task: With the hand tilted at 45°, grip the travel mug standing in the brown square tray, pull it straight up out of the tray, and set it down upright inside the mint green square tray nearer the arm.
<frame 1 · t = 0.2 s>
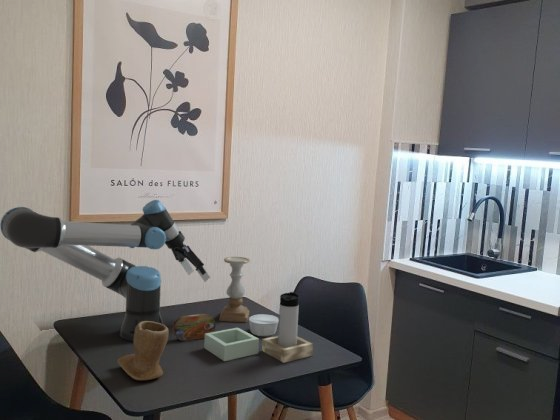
hand: (199, 276, 209), 15 cm above the table, tool tilted 35°, fingers open, 13 cm apart
candle holder: (234, 318, 207), on the table
travel mug: (287, 353, 172), resting in brown square tray
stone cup: (144, 373, 152), on the table
mint green square tray: (231, 350, 172), on the table
brown square tray: (287, 353, 172), on the table
ramekin: (263, 333, 191), on the table
tin: (193, 338, 182), on the table
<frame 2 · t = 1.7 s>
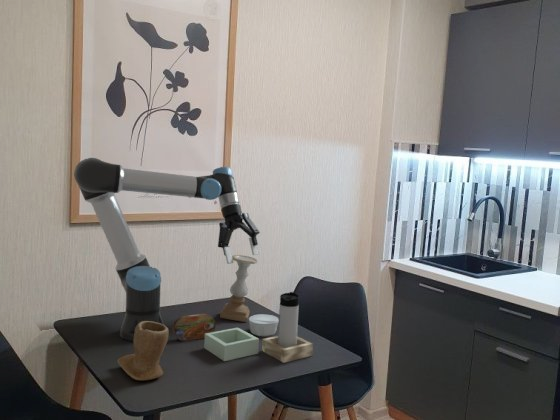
hand: (242, 259, 197), 26 cm above the table, tool tilted 25°, fingers open, 13 cm apart
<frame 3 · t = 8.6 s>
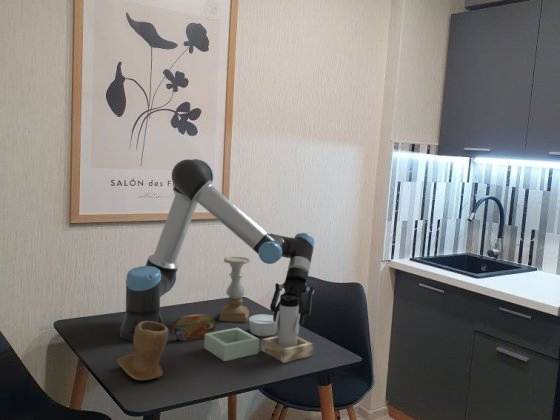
hand: (285, 331, 168), 8 cm above the table, tool tilted 45°, fingers closed on travel mug, 6 cm apart
travel mug: (286, 353, 172), resting in brown square tray, touching gripper
when the fingers open (10 cm above the table, at t = 17.5 s): travel mug drops 1 cm, resting in mint green square tray.
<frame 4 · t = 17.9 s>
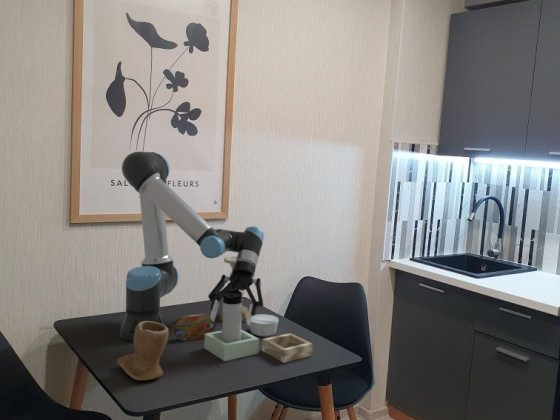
hand: (229, 321, 168), 11 cm above the table, tool tilted 45°, fingers open, 11 cm apart
travel mug: (231, 351, 172), resting in mint green square tray
everything else where it was.
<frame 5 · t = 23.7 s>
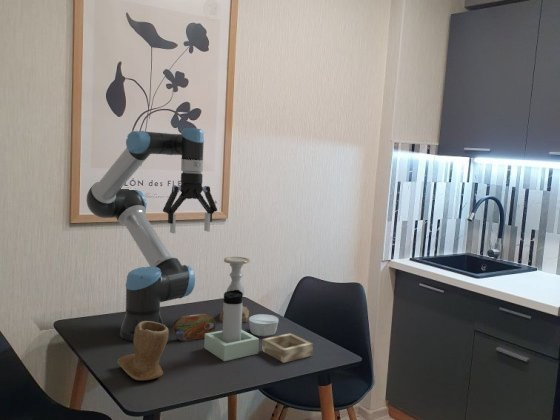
hand: (190, 232, 185), 37 cm above the table, tool pointing down, fingers open, 13 cm apart
nothing on the table moved.
at the end: travel mug 0.0 cm off-centre on the mint green square tray, point 0.0 cm above the mint green square tray's base; travel mug tilted 0°; the gripper is holding nothing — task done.
